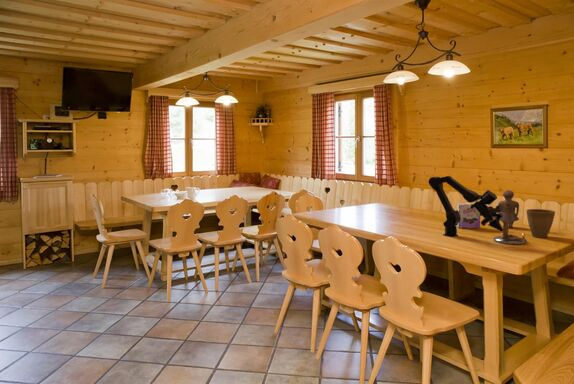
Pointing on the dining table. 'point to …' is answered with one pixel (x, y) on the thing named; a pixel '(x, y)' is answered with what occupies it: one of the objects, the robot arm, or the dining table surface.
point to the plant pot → (540, 221)
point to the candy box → (468, 216)
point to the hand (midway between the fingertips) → (502, 230)
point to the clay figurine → (509, 208)
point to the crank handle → (508, 236)
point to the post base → (510, 241)
